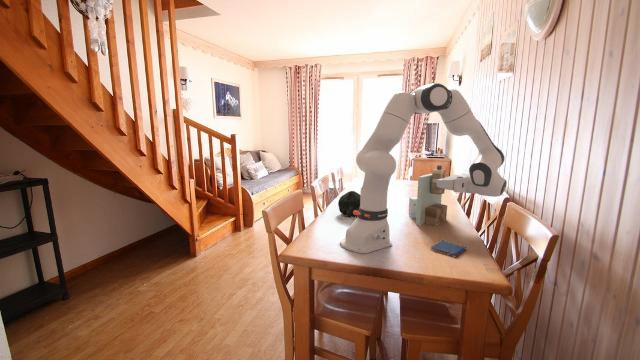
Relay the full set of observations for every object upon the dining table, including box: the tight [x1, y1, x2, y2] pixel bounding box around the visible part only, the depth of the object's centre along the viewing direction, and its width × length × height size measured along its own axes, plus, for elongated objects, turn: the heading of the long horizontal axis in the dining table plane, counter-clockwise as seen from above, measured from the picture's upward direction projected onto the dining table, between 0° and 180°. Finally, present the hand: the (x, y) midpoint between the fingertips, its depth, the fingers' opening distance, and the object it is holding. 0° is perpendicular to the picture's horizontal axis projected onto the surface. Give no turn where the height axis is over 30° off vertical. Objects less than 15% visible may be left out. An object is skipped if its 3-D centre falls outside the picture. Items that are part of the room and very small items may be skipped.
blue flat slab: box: [429, 240, 468, 258], centre depth 115 cm, size 10×11×2 cm
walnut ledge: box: [424, 203, 448, 227], centre depth 148 cm, size 12×6×8 cm, turn 133°
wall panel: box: [415, 173, 443, 226], centre depth 149 cm, size 22×2×24 cm, turn 133°
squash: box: [337, 190, 360, 218], centre depth 159 cm, size 14×15×15 cm
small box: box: [408, 196, 417, 219], centre depth 156 cm, size 8×6×10 cm
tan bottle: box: [431, 164, 447, 195], centre depth 144 cm, size 6×4×14 cm
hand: (436, 179), depth 145 cm, fingers closed on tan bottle, 6 cm apart
